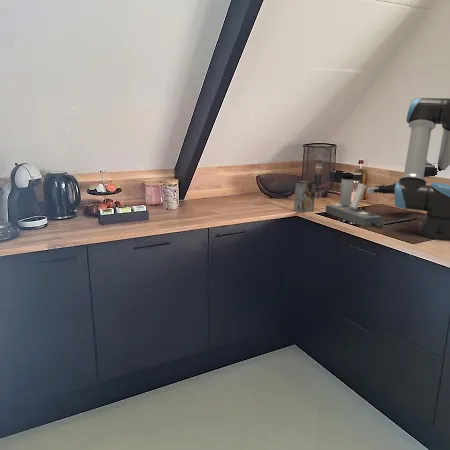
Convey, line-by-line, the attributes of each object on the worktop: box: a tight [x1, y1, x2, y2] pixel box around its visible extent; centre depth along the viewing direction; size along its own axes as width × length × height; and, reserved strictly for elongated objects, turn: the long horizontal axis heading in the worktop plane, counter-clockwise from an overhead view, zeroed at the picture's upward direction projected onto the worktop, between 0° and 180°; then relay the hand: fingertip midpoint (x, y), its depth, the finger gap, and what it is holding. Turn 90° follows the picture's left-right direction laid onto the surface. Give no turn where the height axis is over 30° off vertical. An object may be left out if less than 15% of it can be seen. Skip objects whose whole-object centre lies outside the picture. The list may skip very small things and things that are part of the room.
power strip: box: [325, 203, 384, 229], centre depth 216 cm, size 36×11×5 cm, turn 24°
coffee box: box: [293, 180, 317, 213], centre depth 230 cm, size 9×6×16 cm
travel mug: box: [338, 171, 355, 206], centre depth 241 cm, size 6×7×20 cm
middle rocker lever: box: [349, 182, 368, 211], centre depth 217 cm, size 4×2×14 cm, turn 24°
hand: (368, 190), depth 219 cm, fingers closed
